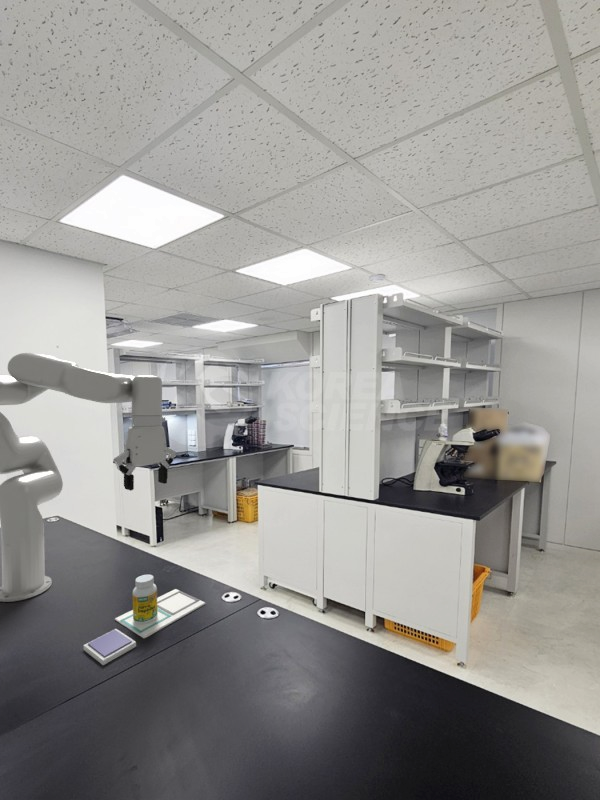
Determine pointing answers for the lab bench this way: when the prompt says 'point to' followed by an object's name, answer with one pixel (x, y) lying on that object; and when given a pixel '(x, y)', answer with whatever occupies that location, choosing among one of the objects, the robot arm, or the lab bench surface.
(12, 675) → the lab bench surface
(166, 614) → the print sheet
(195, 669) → the lab bench surface
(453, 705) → the lab bench surface
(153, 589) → the supplement bottle
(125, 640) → the ink pad
